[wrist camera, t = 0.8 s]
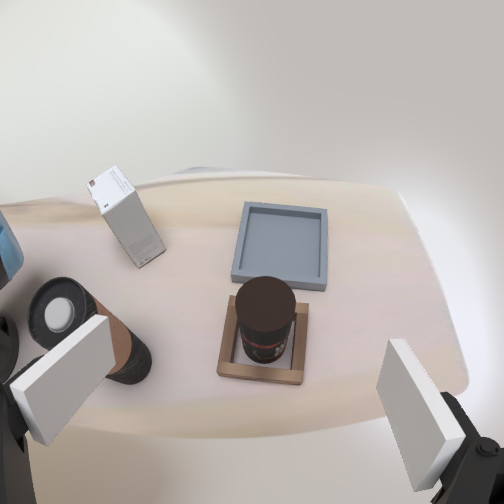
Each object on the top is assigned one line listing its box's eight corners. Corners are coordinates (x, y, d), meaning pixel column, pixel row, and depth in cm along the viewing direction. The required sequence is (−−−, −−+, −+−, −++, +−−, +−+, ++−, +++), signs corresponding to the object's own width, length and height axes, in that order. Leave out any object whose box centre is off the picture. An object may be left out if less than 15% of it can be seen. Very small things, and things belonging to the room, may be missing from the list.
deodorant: (272, 371, 41) (278, 342, 29) (235, 351, 43) (223, 313, 30) (292, 335, 44) (306, 291, 31) (256, 316, 46) (253, 266, 33)
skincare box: (166, 250, 52) (139, 190, 39) (137, 270, 50) (101, 215, 37) (144, 220, 56) (117, 161, 43) (117, 238, 54) (83, 182, 41)
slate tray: (232, 282, 49) (230, 274, 47) (245, 210, 56) (244, 201, 54) (323, 291, 47) (326, 284, 45) (324, 218, 55) (327, 209, 52)
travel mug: (144, 329, 45) (80, 263, 28) (161, 376, 41) (95, 334, 24) (101, 347, 43) (23, 291, 26) (115, 393, 39) (31, 359, 22)
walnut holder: (219, 375, 41) (216, 372, 39) (231, 303, 47) (229, 295, 44) (299, 385, 40) (302, 382, 38) (306, 311, 46) (308, 303, 43)
